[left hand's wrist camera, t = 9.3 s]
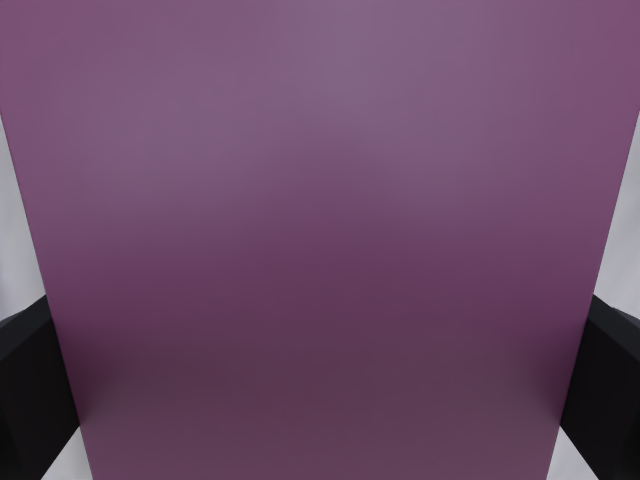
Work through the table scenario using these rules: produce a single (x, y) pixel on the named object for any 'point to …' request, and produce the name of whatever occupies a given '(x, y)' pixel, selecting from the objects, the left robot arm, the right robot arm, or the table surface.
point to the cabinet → (319, 225)
